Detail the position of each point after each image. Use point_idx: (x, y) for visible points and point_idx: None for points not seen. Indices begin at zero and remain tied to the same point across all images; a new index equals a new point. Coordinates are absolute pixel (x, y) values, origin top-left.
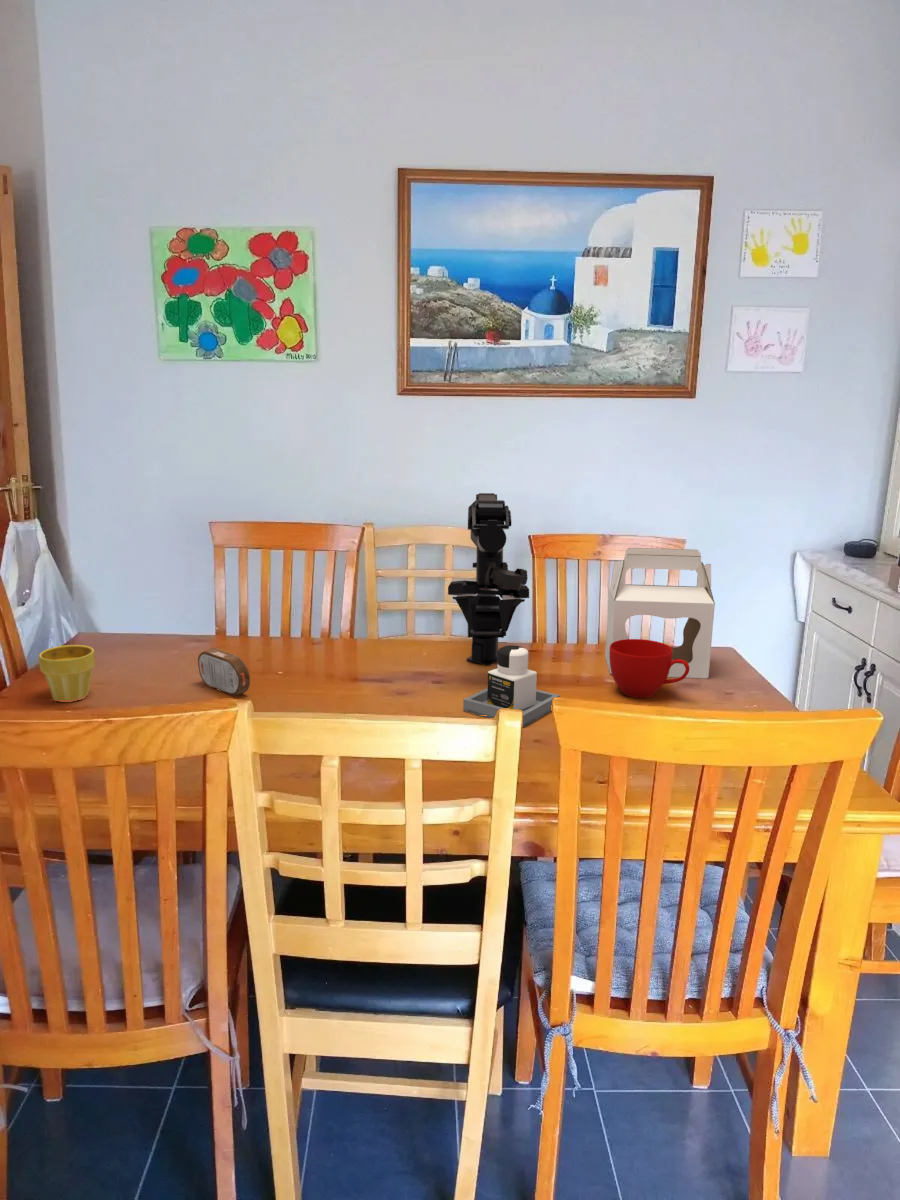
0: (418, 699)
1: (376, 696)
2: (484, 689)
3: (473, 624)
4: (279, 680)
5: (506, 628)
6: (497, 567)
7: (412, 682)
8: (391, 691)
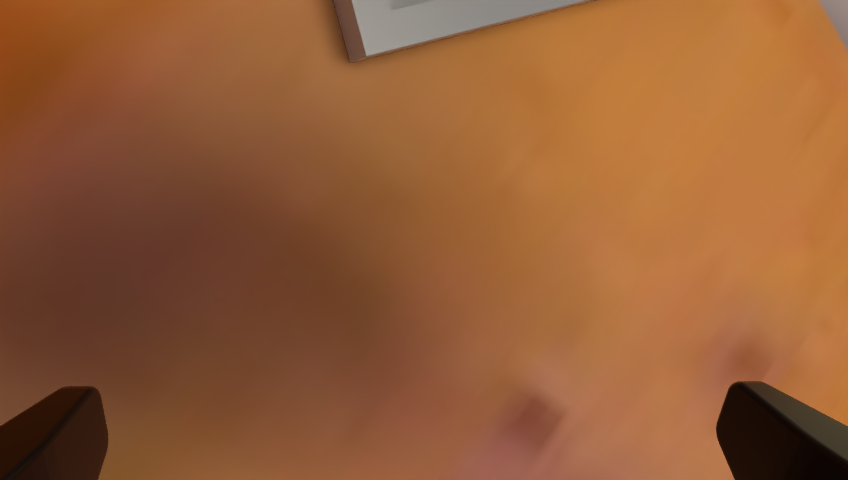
0: (749, 253)
1: (835, 386)
2: (573, 1)
3: (826, 415)
4: None
5: (78, 404)
6: None
7: (623, 475)
8: None
